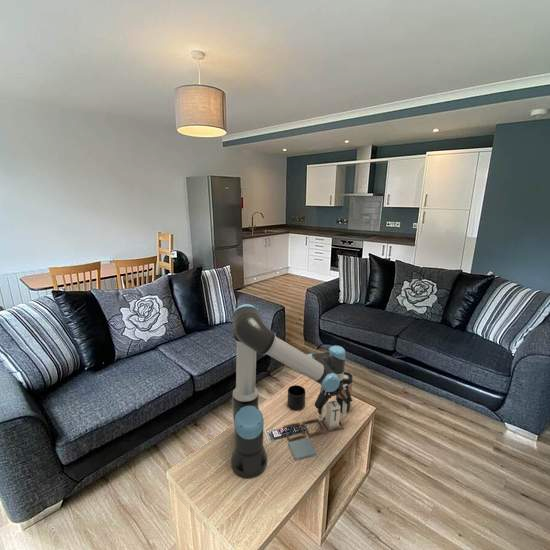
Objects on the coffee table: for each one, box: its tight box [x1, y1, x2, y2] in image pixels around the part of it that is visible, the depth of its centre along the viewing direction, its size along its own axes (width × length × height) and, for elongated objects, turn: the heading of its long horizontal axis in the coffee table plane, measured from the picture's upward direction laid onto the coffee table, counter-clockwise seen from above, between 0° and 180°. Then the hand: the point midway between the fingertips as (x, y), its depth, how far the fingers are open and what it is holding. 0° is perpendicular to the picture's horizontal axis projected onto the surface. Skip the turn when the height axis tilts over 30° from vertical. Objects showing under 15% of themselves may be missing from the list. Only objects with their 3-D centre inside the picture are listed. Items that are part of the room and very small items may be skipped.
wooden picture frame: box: [282, 422, 307, 442], centre depth 139 cm, size 8×8×2 cm
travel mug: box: [335, 371, 353, 414], centre depth 154 cm, size 8×8×20 cm
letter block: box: [324, 399, 341, 429], centre depth 143 cm, size 5×5×12 cm
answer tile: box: [287, 437, 317, 461], centre depth 130 cm, size 10×9×1 cm
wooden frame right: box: [319, 416, 345, 434], centre depth 145 cm, size 8×8×2 cm
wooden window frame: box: [301, 417, 326, 438], centre depth 142 cm, size 8×8×2 cm
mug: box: [287, 384, 306, 412], centre depth 158 cm, size 9×12×9 cm
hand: (332, 416), depth 144 cm, fingers open, 12 cm apart
